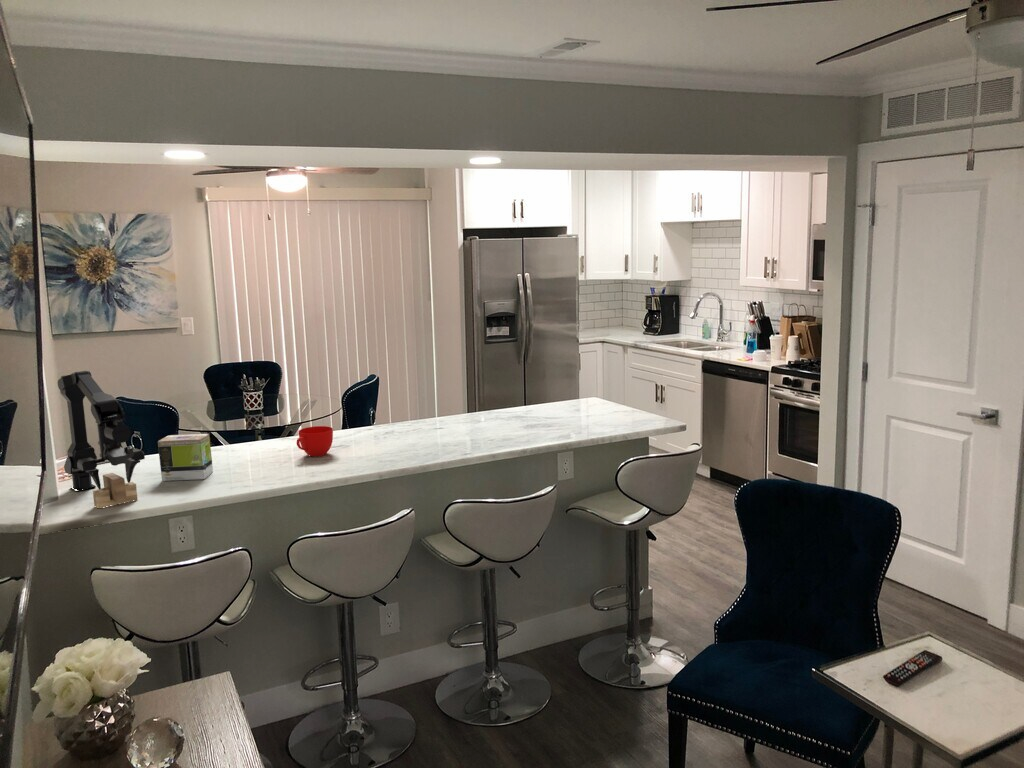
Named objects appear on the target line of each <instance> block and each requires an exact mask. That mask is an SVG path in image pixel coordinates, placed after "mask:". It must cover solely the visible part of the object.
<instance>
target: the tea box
mask: <svg viewBox="0 0 1024 768" xmlns="http://www.w3.org/2000/svg"><path fill="white" fill-rule="evenodd" d="M157 447H158V456H159V457H158V458H159V466H160V474H161V475H160V476H161V481H162V482H168V481H171V482H172V481H189V480H191V481H193V480H205V479H207V478H208V477H209V476H210V475H212V474H213V472H214V471H213V470H214V469H213V468H214V467H213V460H212V459H213V458H212V449H211V437H210V433H192V434H191V433H190V434H188V433H187V434H170V435H167V436H165V437H163V438H161V439H159V440H158V441H157ZM207 476H208V477H207ZM206 477H207V478H206Z"/></svg>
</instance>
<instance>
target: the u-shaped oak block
mask: <svg viewBox="0 0 1024 768" xmlns="http://www.w3.org/2000/svg"><path fill="white" fill-rule="evenodd" d="M125 489H126V498H127V500H123V501H119V502H116V501H114V500H112V499H110V493H109V490H108V489H106V488H104V487H101V489H98V488H97V489H93V490H92V496H93V504H94V506H93V507H95V506H96V507H97V508H103V507H106V506H110V505H115V506H117V505H116V504H119V503H124V502H128V503H130V502H129V501H132V502H134V501H133V500H136V501H138V499H139V498H138V492H137V484H136V483H134V482H133V481H130V483H128V482H125ZM124 504H125V503H124ZM119 505H120V504H119ZM97 508H96V509H97ZM103 509H104V508H103Z"/></svg>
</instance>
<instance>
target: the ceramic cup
mask: <svg viewBox="0 0 1024 768" xmlns="http://www.w3.org/2000/svg"><path fill="white" fill-rule="evenodd" d="M333 438H334V428H333V427H331V426H328V425H327V426H325V425H323V426H322V425H317V426H309V427H307V426H306V427H304V428H301V429H299V430H298V438H297V439H296V446H297V448H298V449H299V450H301V451H304V452H305V453H306V454H307V456H309V455H310V456H320V457H323V456H322V455H324V456H326V455H327V454H328V452H329V451H330V449H331V448H332V445H333ZM325 454H326V455H325ZM310 456H309V457H310Z"/></svg>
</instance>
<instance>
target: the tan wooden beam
mask: <svg viewBox="0 0 1024 768" xmlns="http://www.w3.org/2000/svg"><path fill="white" fill-rule="evenodd" d="M102 480H103V481H102V482H103V488H106V489H108V490H109V493H110V499H112V500H114V501H116V502H119V501H123V500H127V498H126V489H125V483H126V481H125V477H122V476H120V475H118V474H116V473H113V472H109V473H105V474H102Z"/></svg>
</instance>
